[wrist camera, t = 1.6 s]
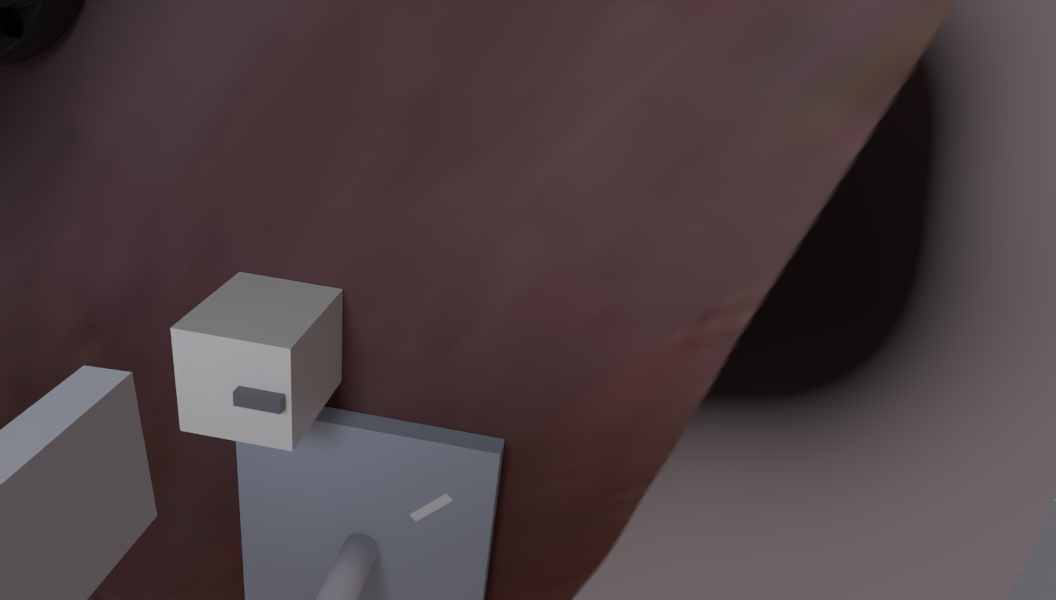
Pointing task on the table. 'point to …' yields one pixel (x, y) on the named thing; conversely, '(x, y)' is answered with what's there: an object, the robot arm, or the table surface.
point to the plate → (369, 511)
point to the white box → (258, 360)
